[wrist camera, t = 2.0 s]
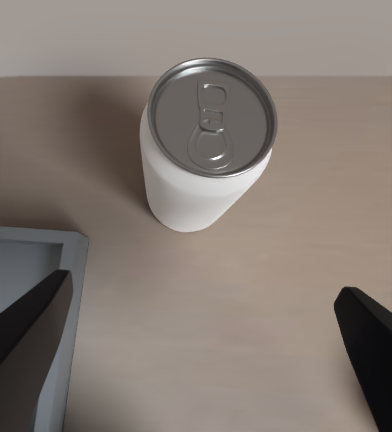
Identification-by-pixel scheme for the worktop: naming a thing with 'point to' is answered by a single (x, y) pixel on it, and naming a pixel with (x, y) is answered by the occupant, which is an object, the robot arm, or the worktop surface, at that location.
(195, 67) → the can
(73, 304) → the tray
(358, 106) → the worktop surface
